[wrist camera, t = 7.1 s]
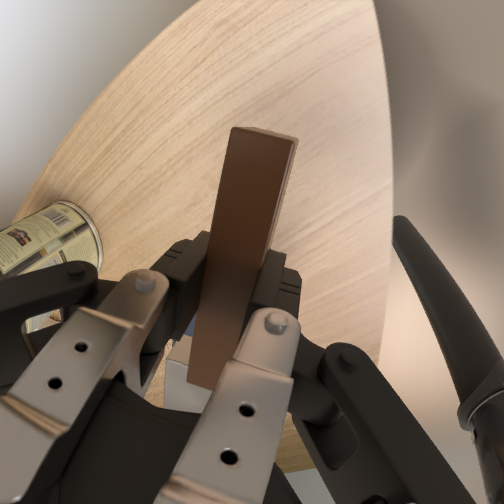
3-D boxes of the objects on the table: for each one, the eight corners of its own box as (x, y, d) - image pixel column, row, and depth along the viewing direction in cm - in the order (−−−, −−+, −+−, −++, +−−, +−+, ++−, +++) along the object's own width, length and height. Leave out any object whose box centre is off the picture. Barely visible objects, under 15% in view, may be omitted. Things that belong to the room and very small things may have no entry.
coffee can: (53, 276, 36) (-19, 336, 23) (35, 201, 31) (-53, 247, 19) (112, 286, 34) (35, 364, 21) (95, 199, 29) (-9, 255, 17)
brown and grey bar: (217, 119, 11) (187, 117, 8) (334, 148, 11) (342, 155, 8) (172, 419, 18) (156, 453, 16) (236, 440, 18) (225, 476, 15)
